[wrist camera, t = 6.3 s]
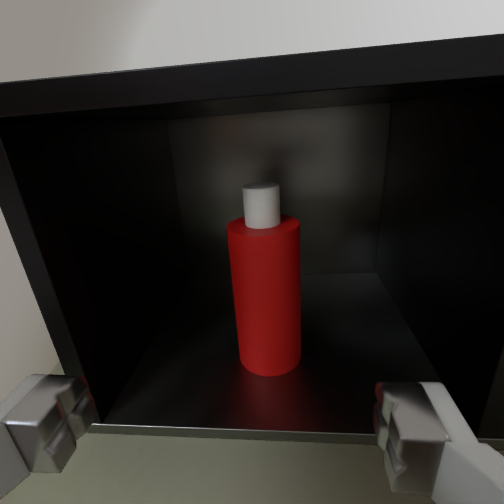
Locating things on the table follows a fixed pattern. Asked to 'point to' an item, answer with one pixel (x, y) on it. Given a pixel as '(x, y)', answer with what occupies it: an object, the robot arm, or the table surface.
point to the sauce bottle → (266, 282)
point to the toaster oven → (291, 203)
